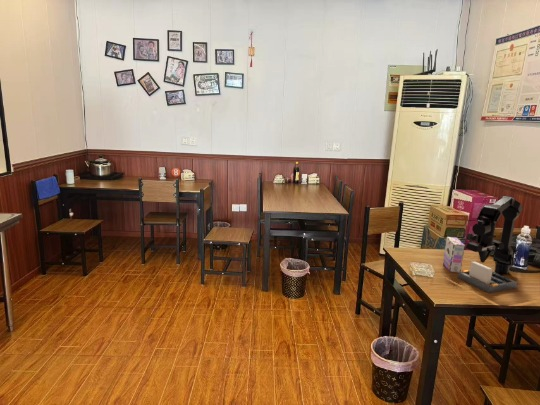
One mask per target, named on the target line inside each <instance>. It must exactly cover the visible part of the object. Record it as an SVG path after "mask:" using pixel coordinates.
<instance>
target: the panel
mask: <svg viewBox="0 0 540 405" xmlns="http://www.w3.org/2000/svg"><path fill="white" fill-rule="evenodd" d="M493 270H494V268H491V267H489V266H487V265H485V264H482V263H481V262H480V263H479V262H478V261H471V262H470V268H469V271H470V272H469V275H470V276H472V277H474V278H476V279H478V280H480V281H482V282H484V283H486V284H488V285H490V282H491V276H492V271H493ZM493 272H494V271H493Z"/></svg>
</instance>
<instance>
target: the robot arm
mask: <svg viewBox="0 0 540 405" xmlns="http://www.w3.org/2000/svg"><path fill="white" fill-rule="evenodd" d="M522 212H523V205H522V204H521V202H519V201H518V200H517V199H515V197H512V196H505V195H504V196H502V197H501V198H500V199H499V200H497V201H496V202H494V203H493V204H486V205H484V206H483V207H481V209H480V211H479V214H478V216H477V218H476V220H477V223H475V224H474V225H473V226H472V232H473V233H467V234H466V240H467V241H468V243H466V244H465V249H466V250H469V251H472V252H474V253H478V256H479V259H480V263H481V264H482V263H485V261H486V260H488V258H489V257H490V256H491V255H492V254H493V262H496V265H495V268H494V272H495V273H497V274H500V275H502V274H503V275H508V274H509V273H510V267H511V266H515V262H516V260H515V256H514V250H513V248H512V245H511V244H512V240H513V235H514V234H513V233H514V228H515V223H516V220H517V219H518V218H519V216H520V215H521V213H522ZM501 216H503V218H504V219H503V220H504V222H503V224H502V225H503V227H502V232H501V237H500V238H501V239H500V241H499V240H496V239H494V238H496V237H497V235H496V234H495V231H496V225H497V223H498V222H499V220H500V218H501ZM493 247H496V248H495V249H493Z"/></svg>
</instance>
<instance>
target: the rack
mask: <svg viewBox="0 0 540 405" xmlns="http://www.w3.org/2000/svg"><path fill="white" fill-rule="evenodd" d="M469 272H470V270H468V269H466V270H465V269H464V270H461V272H458V275H457V279H459V280H461V281H463V282H465V283H467V284H469V285H471V286H473V287H475V288H477V289H479V290H481V291H484V292H485V293H488V294H493V293H498V292H499V293H500V292H503V291H509V290H514V289H518V288H517V287H518V284H519V283H518V281H516V280H513V279H511V278H509V277H506V276H504V275H502V274H500V273H497V272H495V271H492V276H491V282H490V285H488V284H486V283H484V282H482V281H480V280H478V279H476V278H474V277H472V276H470V275H469Z"/></svg>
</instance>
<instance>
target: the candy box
mask: <svg viewBox="0 0 540 405" xmlns="http://www.w3.org/2000/svg"><path fill="white" fill-rule="evenodd" d="M465 249H466V244H464V243H463V242H462V241H461V240H460V238H458V237H455V236H454V237H453V236H447V237H446V240H445V246H444V255H443V261H442V264H443V265H444V267H445V268H446V269H447V270H448V271H449V272H454V273H459V272H462V266H463V265H462V264H463V259H464V254H465Z"/></svg>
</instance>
